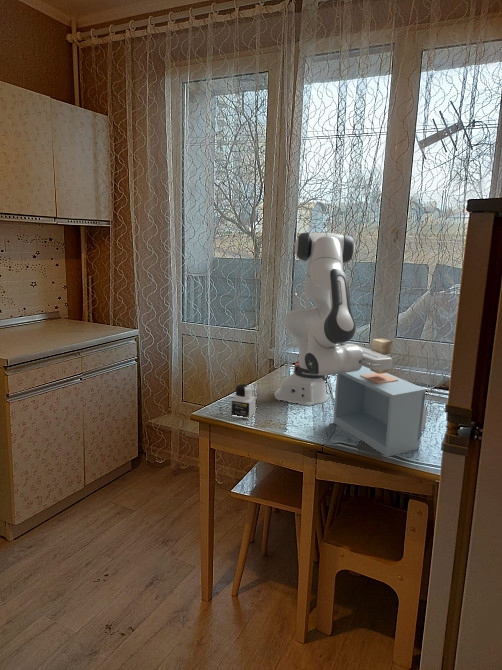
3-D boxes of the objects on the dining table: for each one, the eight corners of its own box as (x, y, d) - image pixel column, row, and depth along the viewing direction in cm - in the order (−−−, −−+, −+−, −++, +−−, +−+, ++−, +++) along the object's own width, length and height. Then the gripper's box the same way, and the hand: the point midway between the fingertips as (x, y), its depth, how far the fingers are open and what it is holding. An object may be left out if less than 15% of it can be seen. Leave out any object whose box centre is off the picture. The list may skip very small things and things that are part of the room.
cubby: (387, 456, 154) (393, 394, 149) (333, 422, 179) (337, 368, 174) (419, 448, 160) (426, 388, 155) (362, 416, 185) (367, 363, 180)
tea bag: (425, 426, 178) (428, 401, 176) (420, 432, 173) (423, 406, 170) (415, 423, 180) (417, 398, 178) (410, 429, 175) (413, 404, 172)
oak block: (379, 373, 161) (381, 342, 158) (370, 370, 165) (372, 339, 162) (389, 372, 163) (392, 341, 160) (380, 368, 167) (382, 338, 164)
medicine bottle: (231, 417, 182) (231, 387, 179) (238, 410, 189) (238, 381, 186) (248, 420, 180) (249, 390, 177) (255, 413, 186) (255, 384, 183)
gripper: (372, 357, 147) (406, 352, 153) (333, 342, 165) (364, 338, 171) (371, 376, 149) (404, 371, 155) (331, 359, 166) (363, 355, 172)
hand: (383, 354), depth 163 cm, fingers closed on oak block, 4 cm apart
